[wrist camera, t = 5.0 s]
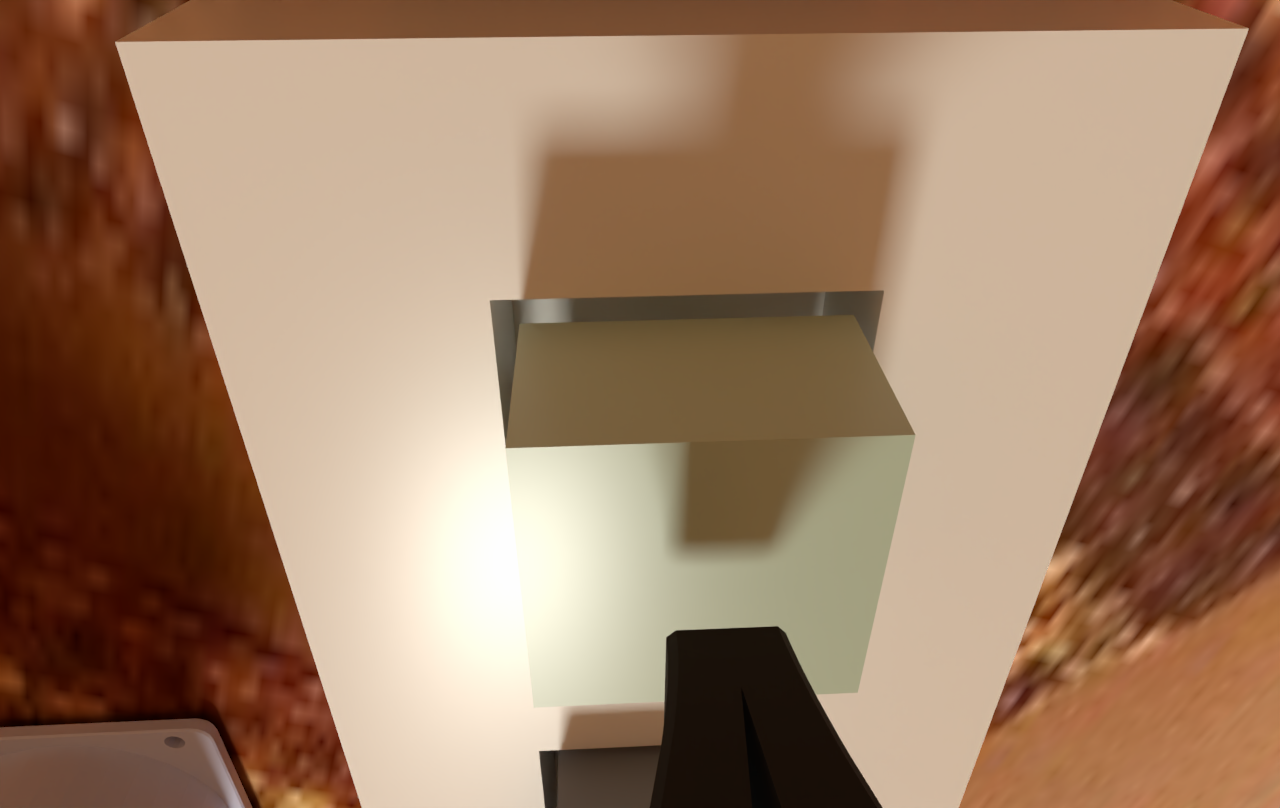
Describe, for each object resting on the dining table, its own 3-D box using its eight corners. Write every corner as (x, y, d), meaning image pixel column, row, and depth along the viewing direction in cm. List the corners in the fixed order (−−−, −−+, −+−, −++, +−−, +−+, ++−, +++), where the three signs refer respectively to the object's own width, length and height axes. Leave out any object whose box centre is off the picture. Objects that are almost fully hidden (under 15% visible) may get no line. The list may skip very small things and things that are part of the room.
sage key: (540, 565, 16) (533, 707, 13) (519, 323, 13) (505, 448, 11) (815, 554, 16) (857, 693, 14) (853, 314, 13) (915, 435, 11)
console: (431, 821, 28) (411, 961, 24) (225, -20, 14) (115, 41, 11) (873, 799, 28) (912, 931, 25) (1097, -27, 14) (1248, 28, 11)
